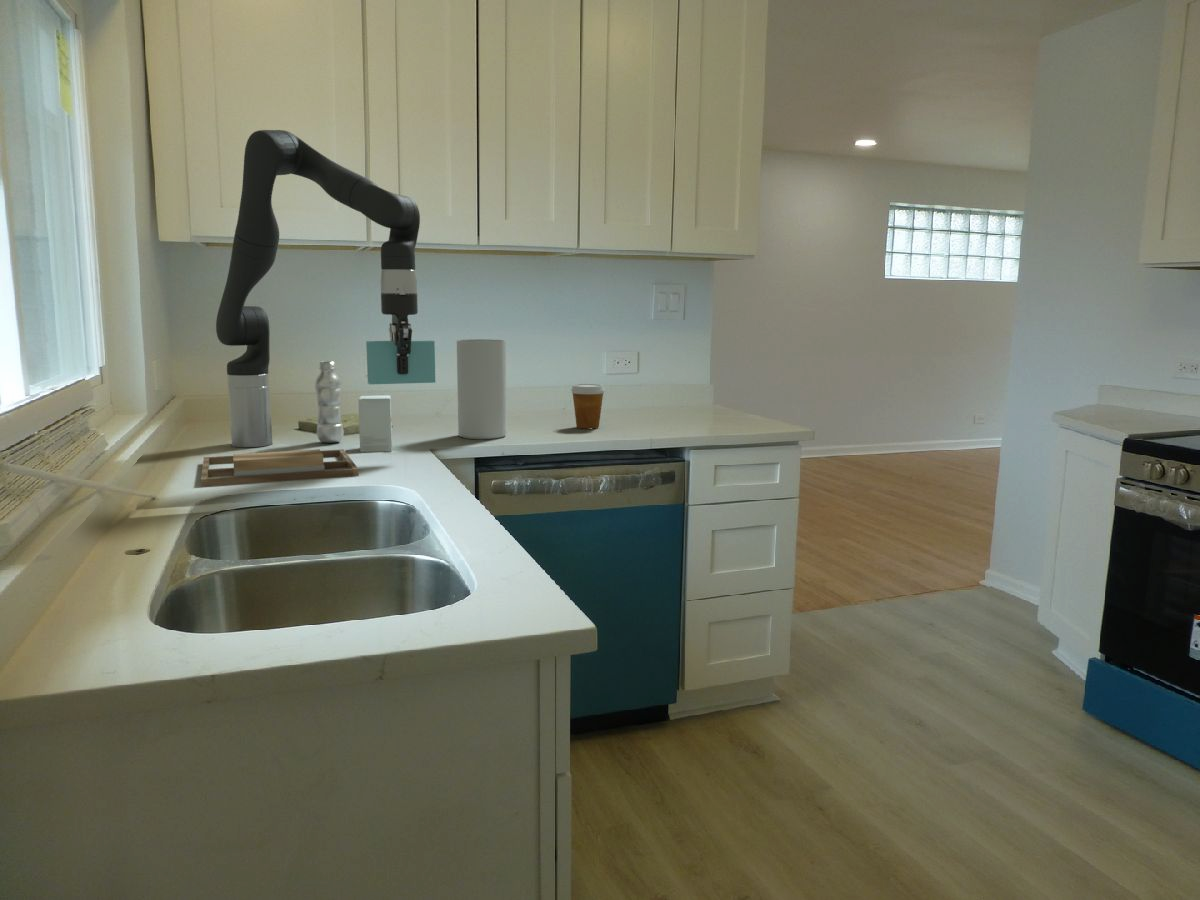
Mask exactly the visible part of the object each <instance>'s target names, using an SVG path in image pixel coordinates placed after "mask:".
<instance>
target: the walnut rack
mask: <svg viewBox="0 0 1200 900" xmlns="http://www.w3.org/2000/svg"><path fill="white" fill-rule="evenodd" d="M320 451H321V453H322V454H323V458H333V457H335V458H336V457H338V458H340V459H341V460H335V461H334V460H333V461H323V464H324V467H325V470H321V471H306V472H291V473H276V474H261V475H245V476H234V467H224V468H223V467H222V468H210V465H219V464H220V465H221V464H234V462H233V455H223V456H222V455H221V456H220V455H219V456H203V460H202V467H201V470H202V471H201V476H200V486H201V488H203V487H216V486H230V485H231V486H233V485H245V484H247V485H248V484H258V483H261V484H262V483H276V482H288V481H302V480H306V481H307V480H315V479H316V480H319V479H331V478H348V477H359V476H360V469H359V468H358V466H357V465H356V463H355V462H354V461H353V459H351V457H350V456H349V455H348V453H347V452H346V451H345V450H344V448H343V449H342V448H341V449H328V450H327V449H326V450H325V449H324V450H320Z"/></svg>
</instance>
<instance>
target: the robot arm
mask: <svg viewBox="0 0 1200 900" xmlns="http://www.w3.org/2000/svg"><path fill="white" fill-rule="evenodd" d="M243 156H244V157H243V169H242V170H243V173H242V175H243V176H242V185H241V196H240V202H239V209H238V216H237V220H236V221H237V222H236V227H235V230H234V236H233V241H232V249H231V256H230V261H229V267H228V273H227V276H226V277H227V278H226V283H225V286H224V290H223V292H222V293H223V294H222V297H221V300H220V304H219V306H218V311H217V314H216V322H215V333H216V337H217V339H218V340H219V342H220V343H221V344H222V345H224V346H229V347H230V346H231V347H232V346H233V347H234V346H235V347H236V346H237V347H238V346H240V347H241V346H246V351H245V352H244V353H243V354H242V355H240V356H239V357H237V358H235V359H232V360H230V361H228V362H227V364H226V379H227V390H228V405H229V406H228V407H229V409H228V410H229V423H230V435H231V446H232V447H234V448H235V447H236V448H255V447H264V446H266V447H267V446H270V445H273V429H272V426H273V425H272V409H271V392H270V377H269V366H270V358H271V357H270V333H271V332H270V320H269V316H268V314H267V313H266V311H265V309H264V308H263V307H261V306H253V305H252V306H250V305H249V306H246V305H245V303H246V300H247V299H248V296H249V294H250V293H251V291H252V290H253V289H254V288H255V286H256V285H257V284H258V283H259V282H260V281H261V280H262V279H263V278H264V277H265V276H266V275H267V274H268V272H269V271H270V270H271V268H272V267H273V265H274V263H275V261H276V257H277V253H278V248H279V247H278V246H279V242H280V227H279V225H278V221H277V218H276V216H275V212H274V209H273V205H272V203H273V202H272V198H273V197H272V196H273V190H274V185H275V181H276V179H277V176H286V175H293V176H294V175H295V176H299V177H303V178H305V179H308V180H310V181H312V182H313V183H316V184H317V185H319V186H320V188H321V189H323V191H324V192H325V193H326V194H327V195H329V196H330V198H332V199H333V200H335V201H337V202H339V203H340V204H342V205H345V206H346V207H348V208H350V209H353V210H355V211H357V212H359V213H361V214H362V215H363V216H365V217H366V218H368V219H369V220H370V221H372V222H374V223H375V224H377V225H380V226H381V227H385V228H388V229H389V235H388V236H389V237H388V240H387V241H385V242H383V243H382V245H381V247H380V268H381V270H380V271H381V273H380V303H381V304H380V306H381V307H380V309H381V313H382V315H388V316H389V315H390V316H391V322H390V323H389V326H388V332H389V341H394V345H395V346H396V355H397V373H398V374H408V357H407V356H409V354H410V352H411V341H412V334H413V329H412V324H411V323H409V318H408V316H412V315H416V316H417V314H418V311H419V310H418V309H419V306H418V281H417V280H418V279H417V273H416V254H415V253H416V252H415V248H416V244H417V241H418V236H419V231H420V224H421V214H420V209H419V207H418V204H417V203H416V202H415V200H414V199H413V198H411V197H410V196H406V195H402V194H397V193H394V192H391V191H388V190H386V189H384V188H381V186H378V185H377V184H376V182H374V181H372V180H371V179H369V178H367V177H366V176H362V175H361V174H359V173H357V172H355V171H352V170H350V169H348V168H346V167H344V166H342V165H340V164H338V163H336V162H335V161H333V160H331V159H330V158H328V157H326V156H325V155H323V154H322V153H320V152H319V151H318V150H316V149H314V148H313V147H312V146H311V145H309V144H308V143H306V141H303V140H302V139H301V138H300V137H298V136H296V135H295V134H294V133H292V132H290V131H287V130H283V129H281V130H280V129H259V130H256V131H254V132H252V133H251V134H250V135H249V137H248V138H247V141H246V145H245V148H244V155H243ZM402 345H404V346H405V348H401V346H402Z"/></svg>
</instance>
